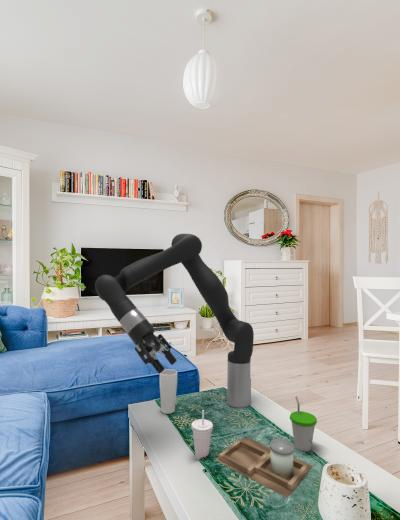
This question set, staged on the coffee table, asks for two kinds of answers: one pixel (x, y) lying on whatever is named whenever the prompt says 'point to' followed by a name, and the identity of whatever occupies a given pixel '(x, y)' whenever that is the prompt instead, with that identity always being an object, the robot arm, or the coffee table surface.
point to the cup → (303, 429)
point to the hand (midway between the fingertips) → (168, 367)
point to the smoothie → (201, 436)
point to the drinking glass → (168, 390)
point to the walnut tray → (261, 466)
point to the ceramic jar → (281, 458)
